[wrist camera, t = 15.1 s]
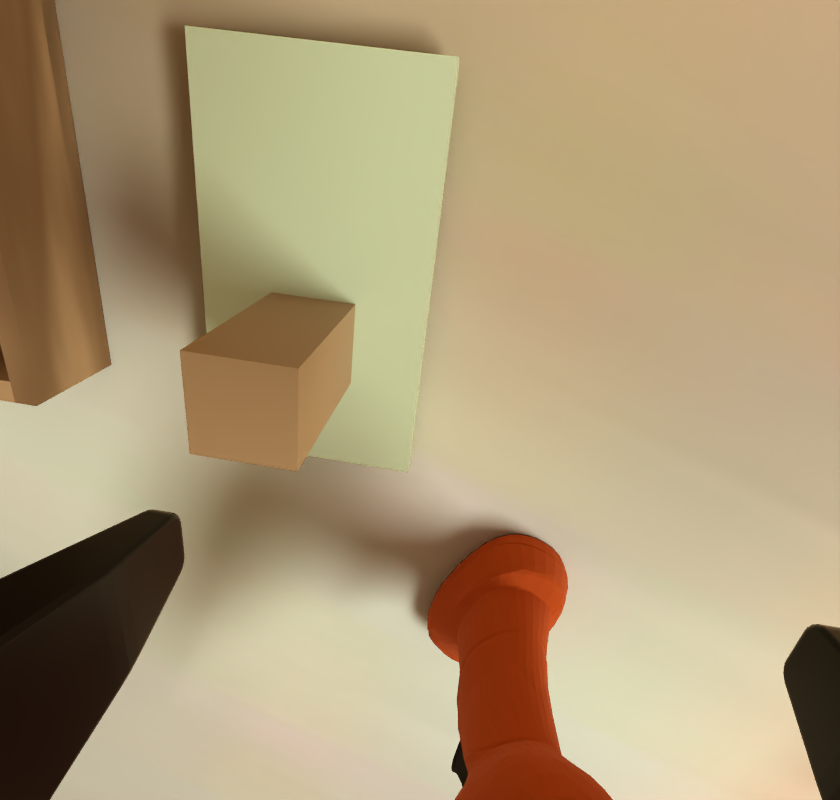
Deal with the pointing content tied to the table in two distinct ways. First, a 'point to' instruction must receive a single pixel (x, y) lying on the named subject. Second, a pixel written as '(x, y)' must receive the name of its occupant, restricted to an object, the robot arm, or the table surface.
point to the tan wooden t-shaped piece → (42, 219)
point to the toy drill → (506, 672)
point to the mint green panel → (313, 245)
